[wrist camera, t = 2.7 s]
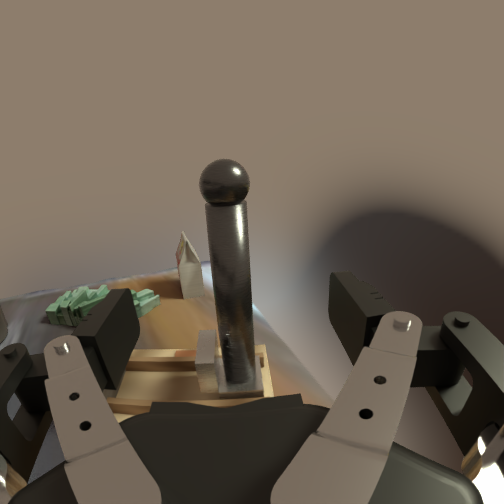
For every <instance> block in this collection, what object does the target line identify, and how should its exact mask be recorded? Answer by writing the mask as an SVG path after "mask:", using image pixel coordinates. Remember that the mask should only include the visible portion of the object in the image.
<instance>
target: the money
mask: <svg viewBox="0 0 504 504" xmlns="http://www.w3.org/2000/svg"><path fill="white" fill-rule="evenodd" d="M109 291H110V290H108V289H107V285H101V287H100V288H99V289H98V290H89V288H88V287H79V288H78V291H77V290H74V291H73V293H72V294H71V291H67V292H66V293H65V294H64V295H63V296H60V297H59V298H58V299H57V300H56V302H55V303H54V304H51V305H50V306H49V307H48V308H47V309H46V313H47V316H48V318H49V321H50V323H51V324H57V325H60V324H63V325H69V326H78V325H79V324H80V322H81V321H83V318H84V317H85V316H86V315H87V313H88V312H89V311H90V309H91V308H92V307H93V306H95V305H96V304H98V303H99V302H101V301H102V300H103V299H104V298H105V297H106V295H107V294H108V293H109ZM130 291H131V293H132V296H133V301H134V305H135V308H136V312H137V316H138V318H139V317H141V316H143V315H145V314H146V313H148V312H149V311H151V310H152V309H153V308H154V307H156V306H158V305H160V300H159V295H156V296H154V291H153V290H149V289H145V290H142V291H140V292H138V293H137V292H135V291H134V290H130Z"/></svg>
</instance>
